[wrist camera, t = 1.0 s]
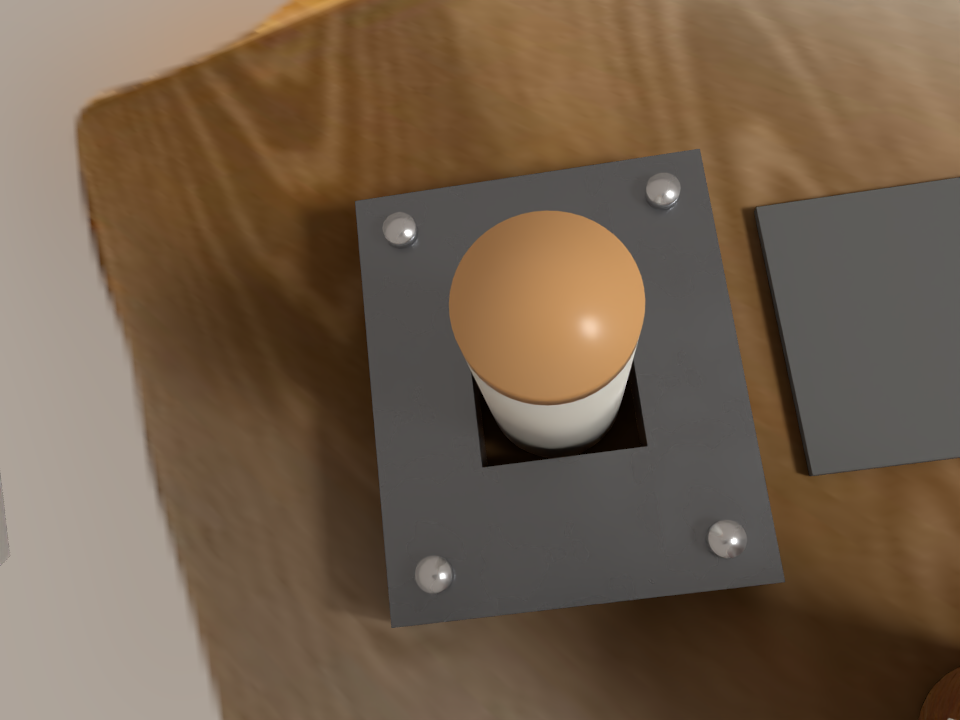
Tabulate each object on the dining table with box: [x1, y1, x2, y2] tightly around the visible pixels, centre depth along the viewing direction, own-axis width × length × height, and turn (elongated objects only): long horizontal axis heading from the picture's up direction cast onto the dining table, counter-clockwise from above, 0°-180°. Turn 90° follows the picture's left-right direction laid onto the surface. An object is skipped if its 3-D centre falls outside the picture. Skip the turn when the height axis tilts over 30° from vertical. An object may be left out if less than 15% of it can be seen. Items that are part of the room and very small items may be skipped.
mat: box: [754, 177, 960, 476], centre depth 37 cm, size 12×12×1 cm
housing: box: [355, 149, 785, 628], centre depth 37 cm, size 15×18×4 cm
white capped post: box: [449, 211, 645, 458], centre depth 32 cm, size 6×6×13 cm
